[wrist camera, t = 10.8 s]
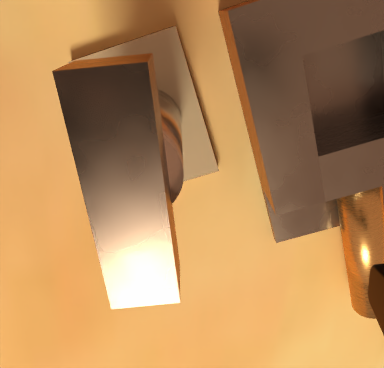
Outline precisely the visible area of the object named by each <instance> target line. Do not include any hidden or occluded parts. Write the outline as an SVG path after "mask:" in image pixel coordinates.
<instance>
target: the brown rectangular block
mask: <svg viewBox="0 0 384 368" xmlns="http://www.w3.org/2000/svg"><path fill="white" fill-rule="evenodd" d="M52 72H53V76H54V80H55V84H56V88H57V92H58V96H59V100H60V104H61V108H62V112H63V116H64V120H65V124H66V128H67V132H68V136H69V140H70V144H71V148H72V152H73V156H74V160H75V164H76V168H77V172H78V176H79V180H80V184H81V189H82V193H83V197H84V201H85V205H86V209H87V213H88V217H89V221H90V225H91V229H92V233H93V237H94V241H95V245H96V249H97V253H98V257H99V261H100V265H101V269H102V273H103V277H104V281H105V285H106V289H107V293H108V297H109V301H110V306H111V309H118V308H129V307H139V306H149V305H160V304H170V303H180V262H179V254H178V246H177V238H176V230H175V223H174V215H173V207H172V203H173V202H174V201H175V199H176V198H177V196H178V195H179V193H180V191H181V188H182V184H183V178H184V172H183V149H182V127H181V114H180V110H179V108H178V106H177V104H176V102H175V101H174V100H173V99H172V98H171V97H170V96H169V95H168V94H167V93H165V92H163V91H161V90H159V89H157V82H156V74H155V67H154V59H153V53H148V54H138V55H128V56H117V57H107V58H97V59H87V60H76V61H73V62H71V63H69V64H67V65H64V66H62V67H60V68H58V69H56V70H54V71H52Z"/></svg>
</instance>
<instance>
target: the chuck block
mask: <svg viewBox="0 0 384 368" xmlns="http://www.w3.org/2000/svg"><path fill="white" fill-rule="evenodd" d="M218 12H219V16H220V20H221V24H222V28H223V32H224V36H225V40H226V45H227V49H228V53H229V57H230V61H231V65H232V69H233V73H234V77H235V81H236V85H237V89H238V93H239V97H240V101H241V105H242V109H243V114H244V118H245V122H246V126H247V130H248V134H249V138H250V142H251V146H252V150H253V154H254V158H255V162H256V166H257V170H258V174H259V179H260V183H261V187H262V191H263V195H264V199H265V203H266V207H267V211H268V215H269V219H270V223H271V227H272V231H273V235H274V239H275V241H276V243H278V242H281V241H285V240H289V239H292V238H296V237H300V236H303V235H307V234H311V233H314V232H318V231H322V230H326V229H329V228H333V227H337V226H340V227H341V234H342V241H343V248H344V255H345V261H346V268H347V275H348V282H349V289H350V296H351V303H352V307H353V309H354V310H355V311H356V312H357V313H358V314H359V315H361V316H364V317H366V318H373V319H375V318H376V317H375V314H374V312H373V310H372V308H371V305H370V303H369V300H368V284H369V275H370V269H371V267H372V266H373V265H375V264H382V263H384V0H250V1H247V2H244V3H241V4H238V5H235V6H232V7H229V8H226V9H223V10H220V11H218Z"/></svg>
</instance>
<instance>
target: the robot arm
mask: <svg viewBox="0 0 384 368" xmlns="http://www.w3.org/2000/svg"><path fill="white" fill-rule="evenodd" d="M368 300H369V303H370V305H371V308H372V310H373V312H374V314H375V317H376V319H377V321H378V323H379V326H380V328H381V330H382V332H383V335H384V263H382V264H375V265H373V266H372V267H371V269H370V275H369V284H368Z"/></svg>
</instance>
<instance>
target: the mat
mask: <svg viewBox="0 0 384 368" xmlns="http://www.w3.org/2000/svg"><path fill="white" fill-rule="evenodd" d="M148 53H153V59H154V67H155V74H156V82H157V89H159V90H161V91H163V92H165V93H167V94H168V95H169V96H170V97H171V98H172V99H173V100H174V101H175V102H176V104H177V106H178V108H179V110H180V114H181V127H182V149H183V172H184V178H183V181H187V180H190V179H193V178H197V177H200V176H203V175H207V174H210V173H214V172H217V171H219V169H218V166H217V162H216V159H215V156H214V152H213V149H212V146H211V142H210V139H209V136H208V132H207V129H206V126H205V122H204V119H203V115H202V112H201V109H200V105H199V102H198V99H197V95H196V92H195V89H194V85H193V82H192V79H191V75H190V72H189V69H188V65H187V62H186V59H185V55H184V52H183V49H182V45H181V42H180V38H179V35H178V32H177V28H176V26H173V27H170V28H167V29H164V30H161V31H158V32H155V33H152V34H149V35H146V36H143V37H140V38H137V39H134V40H131V41H128V42H125V43H122V44H120V45H117V46H114V47H111V48H108V49H105V50H102V51H99V52H96V53H93V54H90V55H87V56H84V57H81V58H78V59H75V60H72V61H70V62H68V63H71V62H73V61H76V60H87V59H97V58H107V57H117V56H128V55H138V54H148Z"/></svg>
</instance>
